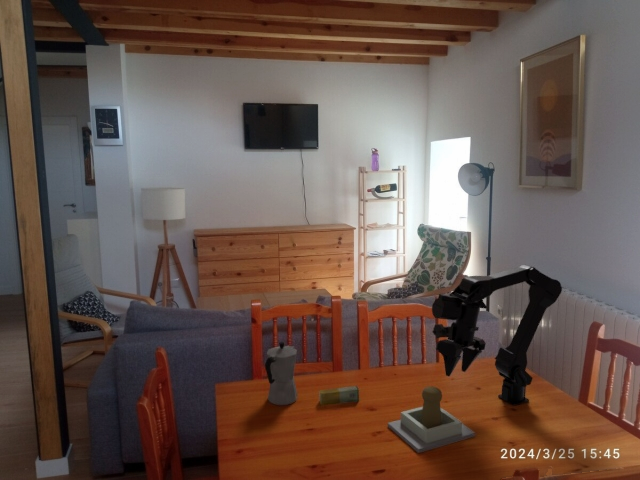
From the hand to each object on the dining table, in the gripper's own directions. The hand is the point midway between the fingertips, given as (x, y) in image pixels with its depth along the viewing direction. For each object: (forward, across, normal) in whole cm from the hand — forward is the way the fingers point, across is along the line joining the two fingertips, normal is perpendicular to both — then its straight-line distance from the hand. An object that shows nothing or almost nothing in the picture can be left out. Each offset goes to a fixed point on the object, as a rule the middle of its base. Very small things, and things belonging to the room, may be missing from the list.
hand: (455, 373), depth 141 cm
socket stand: (+13, +13, +3) cm, 19 cm away
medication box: (+17, +17, -26) cm, 36 cm away
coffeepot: (+20, +29, -39) cm, 53 cm away
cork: (+12, +13, +3) cm, 18 cm away
